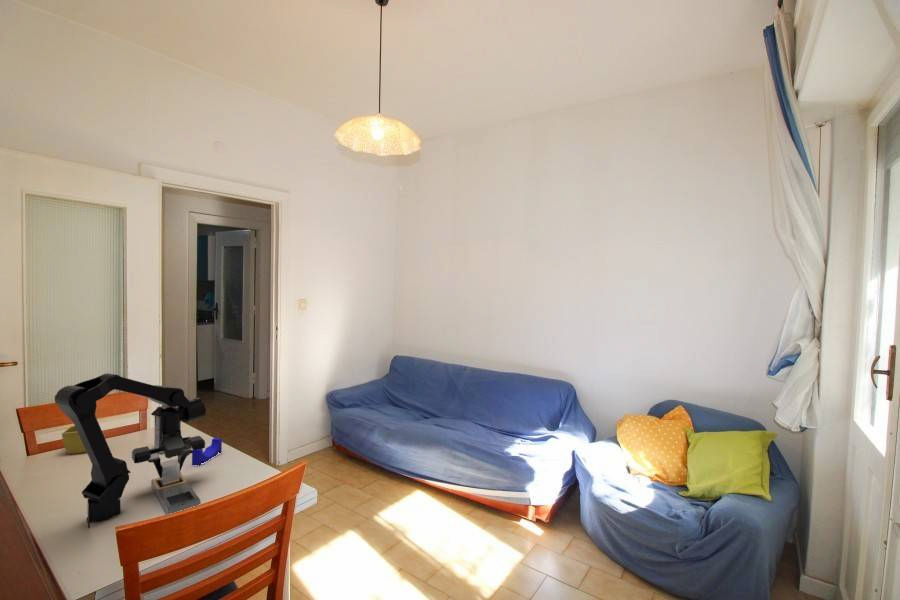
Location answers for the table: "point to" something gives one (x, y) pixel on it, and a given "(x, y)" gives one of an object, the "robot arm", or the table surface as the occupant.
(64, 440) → the flower pot
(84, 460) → the table surface
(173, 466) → the light grey block
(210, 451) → the blue notched block
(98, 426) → the robot arm
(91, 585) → the table surface
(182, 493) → the slotted holder
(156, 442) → the coffee box
